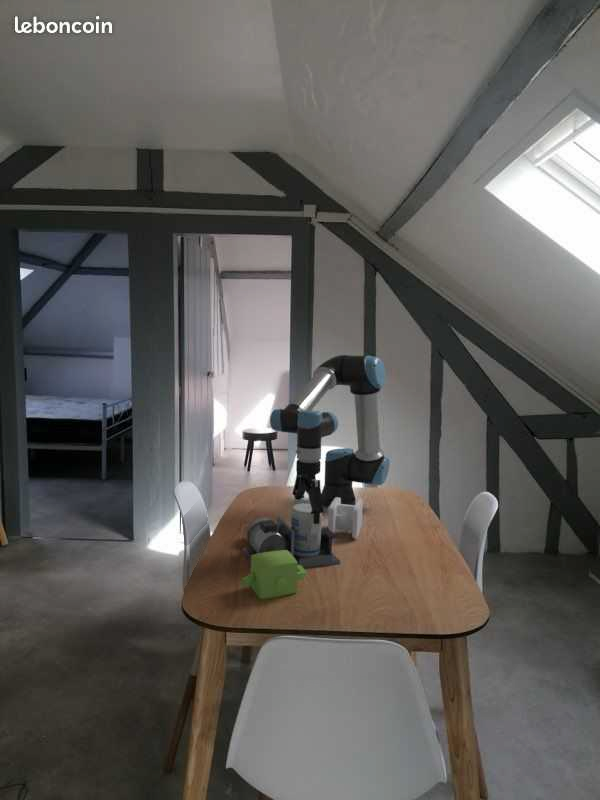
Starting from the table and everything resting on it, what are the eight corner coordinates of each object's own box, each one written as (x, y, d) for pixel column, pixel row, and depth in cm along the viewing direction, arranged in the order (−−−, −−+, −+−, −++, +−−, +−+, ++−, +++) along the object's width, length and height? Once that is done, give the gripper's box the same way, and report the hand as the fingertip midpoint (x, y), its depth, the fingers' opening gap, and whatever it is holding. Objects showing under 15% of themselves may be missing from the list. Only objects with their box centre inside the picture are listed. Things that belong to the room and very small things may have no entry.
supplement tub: (285, 555, 172) (286, 509, 170) (296, 545, 181) (298, 501, 179) (314, 560, 168) (316, 513, 167) (324, 550, 177) (326, 505, 176)
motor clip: (320, 542, 186) (321, 508, 185) (343, 563, 170) (344, 526, 168) (242, 551, 177) (243, 515, 175) (258, 573, 160) (259, 534, 159)
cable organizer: (356, 542, 188) (357, 509, 186) (325, 539, 190) (327, 506, 189) (362, 528, 202) (363, 497, 201) (333, 525, 205) (334, 495, 203)
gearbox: (245, 607, 141) (245, 572, 140) (234, 588, 150) (235, 556, 149) (309, 595, 148) (310, 562, 147) (295, 578, 157) (296, 547, 156)
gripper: (283, 452, 182) (282, 514, 184) (312, 470, 159) (310, 541, 161) (305, 451, 184) (303, 512, 187) (336, 468, 161) (333, 538, 164)
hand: (306, 525), depth 174 cm, fingers open, 13 cm apart
